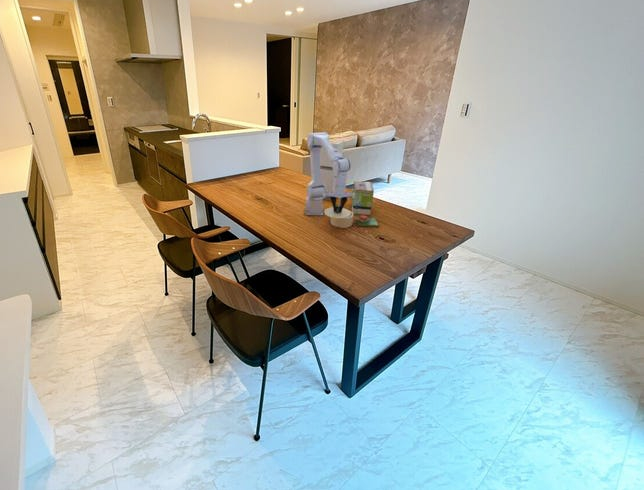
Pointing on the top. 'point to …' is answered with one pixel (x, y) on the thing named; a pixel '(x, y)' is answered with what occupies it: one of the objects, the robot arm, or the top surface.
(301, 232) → the top surface
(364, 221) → the release base
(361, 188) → the tea box
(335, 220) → the tin
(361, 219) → the button
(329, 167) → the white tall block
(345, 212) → the tin lid
